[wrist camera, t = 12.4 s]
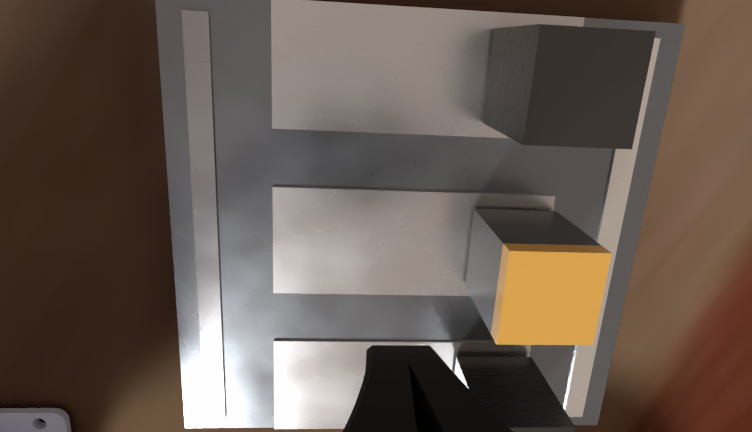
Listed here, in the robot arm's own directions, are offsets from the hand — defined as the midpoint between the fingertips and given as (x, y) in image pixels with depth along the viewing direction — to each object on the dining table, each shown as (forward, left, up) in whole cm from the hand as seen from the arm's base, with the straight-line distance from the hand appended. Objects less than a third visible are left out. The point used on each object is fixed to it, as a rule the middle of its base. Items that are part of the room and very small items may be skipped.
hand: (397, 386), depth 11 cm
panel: (+2, 0, -10) cm, 10 cm away
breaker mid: (+5, 0, -8) cm, 10 cm away
